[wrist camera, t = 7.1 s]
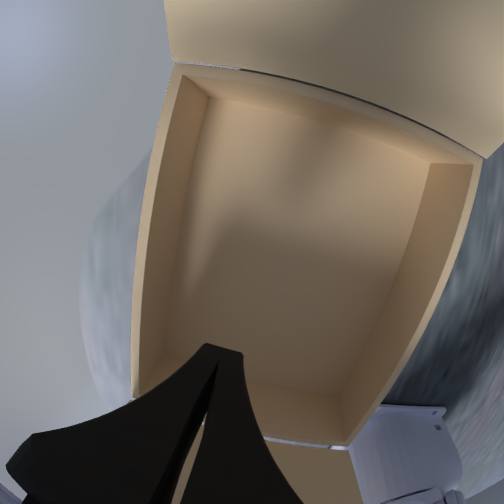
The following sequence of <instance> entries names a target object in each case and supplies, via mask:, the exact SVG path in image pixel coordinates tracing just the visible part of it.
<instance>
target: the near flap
mask: <svg viewBox="0 0 504 504" xmlns="http://www.w3.org/2000/svg"><path fill="white" fill-rule="evenodd" d="M164 6H165V14H166V21H167V28H168V35H169V42H170V49H171V55H172V61H179V62H193V63H204V64H213V65H221V66H229V67H235V68H242V69H248V70H254V71H259V72H264V73H270V74H274V75H279V76H284V77H288V78H292V79H296V80H300V81H304V82H308V83H312V84H316V85H319V86H323V87H326V88H330V89H333V90H336V91H339V92H342V93H346V94H349V95H352V96H355V97H357V98H360V99H363V100H366V101H369V102H371V103H374V104H377V105H379V106H382V107H384V108H387V109H389V110H392V111H394V112H397V113H399V114H401V115H404V116H406V117H408V118H411V119H413V120H415V121H417V122H419V123H422V124H424V125H426V126H428V127H430V128H432V129H434V130H436V131H438V132H440V133H442V134H444V135H446V136H448V137H449V138H451V139H453V140H455V141H457V142H459V143H460V144H462V145H464V146H466V147H467V148H469V149H471V150H473V151H474V152H476V153H478V154H479V155H481V156H483V157H484V158H486V159H487V158H488V157H489V156H490V155H491V154H492V153H493V152H494V151H495V150H496V149H497V148H498V147H499V146H500V145H501V144H502V143H503V142H504V0H164Z"/></svg>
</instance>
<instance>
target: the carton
mask: <svg viewBox="0 0 504 504" xmlns="http://www.w3.org/2000/svg"><path fill="white" fill-rule="evenodd" d="M482 162H483V159H482V158H481V157H479V156H477V155H476V154H474V153H472V152H471V151H469V150H467V149H465V148H464V147H462V146H460V145H458V144H456V143H455V142H453V141H451V140H449V139H447V138H445V137H443V136H441V135H439V134H437V133H435V132H433V131H431V130H429V129H427V128H425V127H423V126H421V125H419V124H417V123H414V122H412V121H410V120H408V119H405V118H403V117H401V116H398V115H396V114H394V113H391V112H389V111H386V110H384V109H381V108H379V107H376V106H373V105H371V104H368V103H365V102H362V101H359V100H357V99H354V98H351V97H348V96H345V95H341V94H338V93H335V92H332V91H329V90H325V89H322V88H318V87H315V86H311V85H307V84H303V83H299V82H295V81H291V80H287V79H282V78H278V77H273V76H268V75H263V74H258V73H253V72H247V71H241V70H234V69H227V68H220V67H212V66H201V65H192V64H177V63H175V65H174V68H173V71H172V74H171V78H170V81H169V85H168V88H167V92H166V95H165V99H164V103H163V107H162V111H161V115H160V119H159V123H158V127H157V131H156V136H155V140H154V145H153V149H152V154H151V159H150V164H149V169H148V175H147V180H146V186H145V192H144V198H143V205H142V211H141V218H140V226H139V234H138V242H137V251H136V261H135V272H134V285H133V300H132V322H131V388H132V397H133V398H136V399H137V398H139V397H141V396H142V395H144V394H145V393H147V392H148V391H150V390H152V389H153V388H154V387H156V386H157V385H159V384H160V383H161V382H163V381H164V380H165V379H167V378H168V377H169V376H171V375H172V374H173V373H174V372H175V371H176V370H178V369H179V368H180V367H181V366H182V365H183V364H185V363H186V362H187V361H188V360H189V359H190V358H191V357H192V356H193V355H194V354H195V353H196V352H197V351H198V349H199V348H200V347H201V346H202V345H203V344H205V343H209V344H213V345H216V346H220V347H223V348H227V349H231V350H234V351H238V352H242V354H243V355H244V373H245V380H246V385H247V389H248V394H249V398H250V402H251V405H252V409H253V412H254V415H255V418H256V421H257V423H258V426H259V429H260V431H261V434H262V436H265V437H271V438H276V439H282V440H289V441H295V442H303V443H311V444H320V445H330V446H343V447H348V446H349V445H350V444H351V443H352V441H353V440H354V439H355V438H356V436H357V435H358V434H359V432H360V431H361V430H362V429H363V427H364V426H365V425H366V423H367V422H368V421H369V419H370V418H371V417H372V415H373V414H374V412H375V411H376V410H377V408H378V407H379V405H380V404H381V402H382V401H383V400H384V398H385V397H386V395H387V394H388V392H389V391H390V389H391V387H392V386H393V384H394V383H395V381H396V380H397V378H398V376H399V375H400V373H401V371H402V370H403V368H404V367H405V365H406V363H407V361H408V360H409V358H410V356H411V354H412V353H413V351H414V349H415V347H416V345H417V344H418V342H419V340H420V338H421V336H422V334H423V332H424V330H425V328H426V326H427V324H428V322H429V320H430V318H431V316H432V314H433V312H434V310H435V308H436V306H437V303H438V301H439V299H440V297H441V294H442V292H443V290H444V287H445V285H446V283H447V280H448V278H449V275H450V273H451V270H452V268H453V265H454V262H455V260H456V257H457V254H458V251H459V248H460V245H461V242H462V239H463V236H464V233H465V230H466V227H467V224H468V220H469V217H470V213H471V210H472V206H473V202H474V198H475V194H476V190H477V186H478V181H479V177H480V172H481V167H482ZM206 414H207V413H206ZM205 419H206V415H205V417H204V419H203V422H205Z"/></svg>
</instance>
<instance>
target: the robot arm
mask: <svg viewBox="0 0 504 504" xmlns="http://www.w3.org/2000/svg"><path fill="white" fill-rule="evenodd" d="M445 412H446V408H445V407H426V406H402V405H387V404H380V405H379V407H378V408H377V410H376V411H375V412H374V414H373V415H372V417H371V418H370V419H369V421H368V422H367V423H366V425H365V426H364V427H363V429H362V430H361V431H360V432H359V434H358V435H357V436H356V438H355V439H354V440H353V441H352V443H351V444H350V445H349V446H348V447H343V446H331V447H330V448H329V449H337V450H349V454H350V457H351V461H352V464H353V468H354V471H355V475H356V478H357V482H358V485H359V489H360V492H361V496H362V500H363V503H364V504H466V501H465V498H464V496H463V494H462V492H461V491H457V490H456V489H457V487H458V485H459V483H460V480H461V475H462V463H461V459H460V456H459V454H458V451H457V449H456V447H455V445H454V442H453V440H452V438H451V436H450V433H449V431H448V429H447V427H446V425H445V423H444V421H443V419H442V416H443V415H444V414H445ZM206 413H207V414H206ZM205 415H206V419H205V424H204V430H203V435H202V439H201V442H200V445H199V448H198V451H197V454H196V457H195V460H194V463H193V466H192V469H191V472H190V475H189V478H188V481H187V484H186V487H185V490H184V493H183V496H182V499H181V502H180V504H304V503H303V502H302V500H301V499H300V498H299V496H298V495H297V494H296V492H295V491H294V490H293V488H292V487H291V486H290V484H289V483H288V481H287V480H286V478H285V477H284V475H283V473H282V472H281V470H280V469H279V467H278V465H277V464H276V462H275V460H274V458H273V457H272V455H271V453H270V451H269V449H268V447H267V445H266V443H265V440H264V438H263V436H262V434H261V431H260V429H259V426H258V423H257V421H256V418H255V415H254V412H253V409H252V405H251V402H250V398H249V394H248V389H247V385H246V380H245V373H244V355H243V354H242V352H238V351H234V350H231V349H227V348H223V347H220V346H216V345H213V344H209V343H205V344H203V345H202V346H201V347H200V348H199V349H198V351H197V352H196V353H195V354H194V355H193V356H192V357H191V358H190V359H189V360H188V361H187V362H186V363H185V364H183V365H182V366H181V367H180V368H179V369H178V370H176V371H175V372H174V373H173V374H172V375H171V376H169V377H168V378H167V379H165V380H164V381H163V382H161V383H160V384H159V385H157V386H156V387H154V388H153V389H152V390H150V391H148V392H147V393H145V394H144V395H142V396H141V397H139V398H137V399H135V400H134V401H132V402H130V403H128V404H126V405H124V406H122V407H120V408H118V409H116V410H114V411H112V412H109V413H108V414H105V415H102V416H100V417H98V418H94V419H91V420H88V421H85V422H83V423H79V424H76V425H73V426H70V427H66V428H61V429H56V430H51V431H45V432H40V433H34V434H32V435H31V436H30V437H29V438H28V439H27V440H26V441H24V443H22V445H21V446H20V447H19V448H18V449H17V451H16V452H15V453H14V455H13V456H12V457H11V459H10V460H9V461H8V463H7V464H6V469H7V471H8V473H9V474H10V475H11V477H12V478H13V479H14V480H15V481H16V482H17V483H18V484H19V485H20V487H22V489H23V490H24V491H25V492H26V493H27V496H26V497H25V499H24V501H22V500H21V499H19V498H18V497H17V496H15V495H14V494H13V493H12V492H10V491H9V490H8V489H7V488H6V487H4V486H3V485H2V484H1V483H0V504H171V503H172V499H173V496H174V493H175V490H176V487H177V484H178V480H179V477H180V474H181V471H182V468H183V466H184V463H185V460H186V458H187V456H188V453H189V451H190V449H191V447H192V445H193V442H194V440H195V438H196V435H197V433H198V431H199V429H200V426H201V424H202V422H203V419H204V417H205ZM455 490H456V491H455Z"/></svg>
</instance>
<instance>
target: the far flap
mask: <svg viewBox="0 0 504 504" xmlns="http://www.w3.org/2000/svg"><path fill="white" fill-rule="evenodd" d="M130 402H132V401H131V400H130V401H129V402H128V403H130ZM128 403H127V404H128ZM203 430H204V426H203V425H201V426H200V429H199V431H198V433H197V435H196V438H195V440H194V442H193V445H192V447H191V449H190V451H189V453H188V456H187V458H186V460H185V463H184V466H183V468H182V471H181V474H180V477H179V480H178V484H177V487H176V490H175V493H174V496H173V499H172V503H171V504H180V502H181V499H182V496H183V493H184V490H185V487H186V484H187V481H188V478H189V475H190V472H191V469H192V466H193V463H194V460H195V457H196V454H197V451H198V448H199V445H200V442H201V439H202V435H203ZM265 443H266V445H267V447H268V449H269V451H270V453H271V455H272V457H273V458H274V460H275V462H276V464H277V465H278V467H279V469H280V470H281V472H282V473H283V475H284V477H285V478H286V480H287V481H288V483H289V484H290V486H291V487H292V488H293V490H294V491H295V492H296V494H297V495H298V496H299V498H300V499H301V500H302V502H303V503H304V504H364V503H363V500H362V496H361V492H360V489H359V485H358V482H357V478H356V475H355V471H354V468H353V464H352V461H351V457H350V454H349V450H337V449H325V448H315V447H306V446H298V445H291V444H285V443H278V442H273V441H267V440H265Z"/></svg>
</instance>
